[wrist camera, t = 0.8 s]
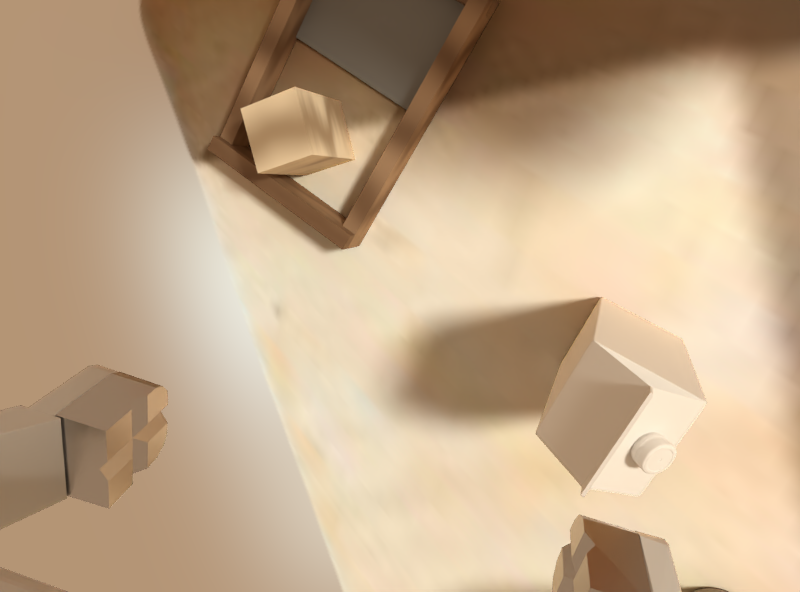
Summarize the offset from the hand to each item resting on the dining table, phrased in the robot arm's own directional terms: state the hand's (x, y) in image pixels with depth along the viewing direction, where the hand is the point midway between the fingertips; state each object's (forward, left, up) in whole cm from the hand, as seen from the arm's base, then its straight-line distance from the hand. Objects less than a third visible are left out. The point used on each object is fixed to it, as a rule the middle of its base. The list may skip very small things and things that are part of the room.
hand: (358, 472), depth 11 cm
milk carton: (+4, +9, -40) cm, 42 cm away
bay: (-2, -24, -40) cm, 47 cm away
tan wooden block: (+4, -24, -40) cm, 47 cm away
